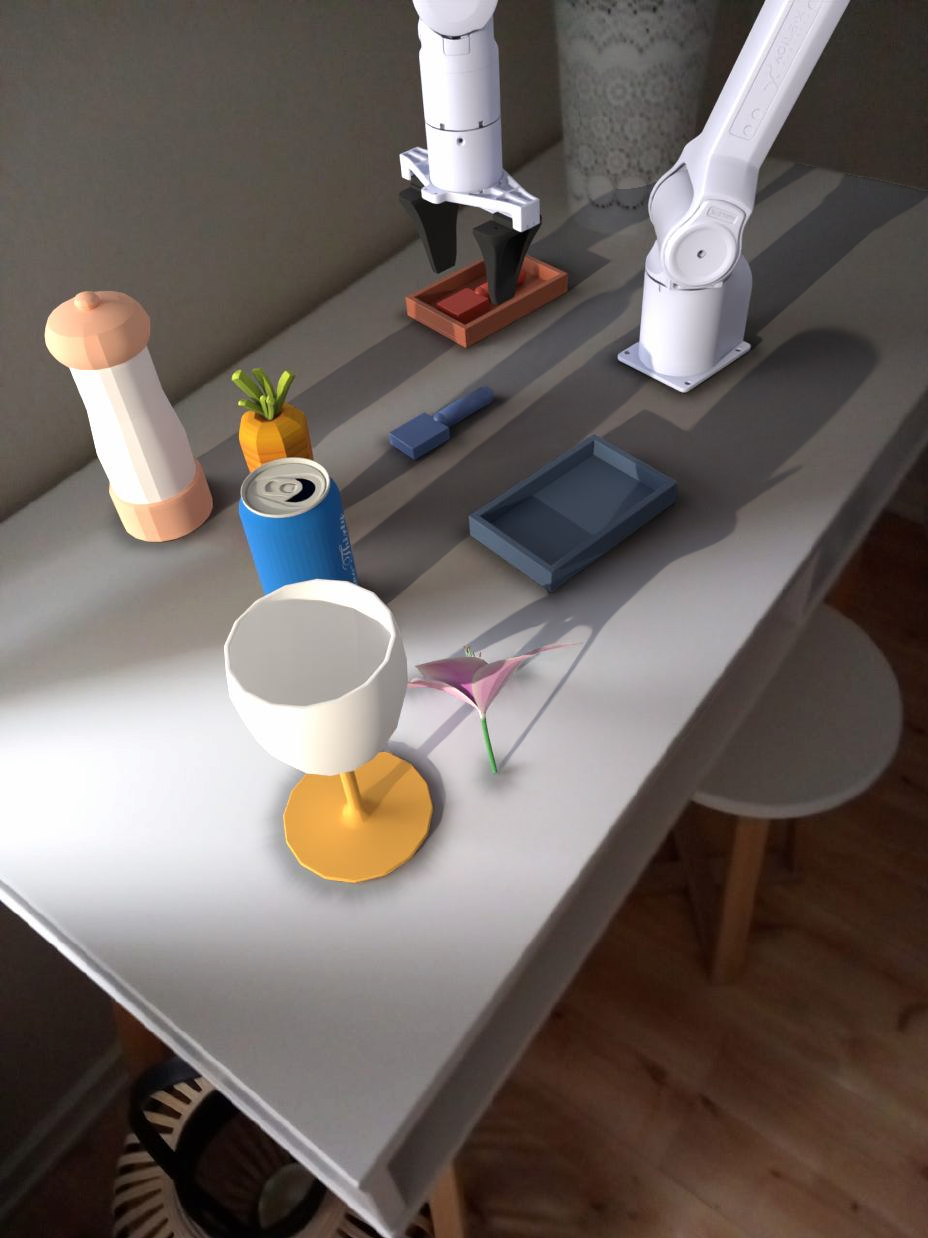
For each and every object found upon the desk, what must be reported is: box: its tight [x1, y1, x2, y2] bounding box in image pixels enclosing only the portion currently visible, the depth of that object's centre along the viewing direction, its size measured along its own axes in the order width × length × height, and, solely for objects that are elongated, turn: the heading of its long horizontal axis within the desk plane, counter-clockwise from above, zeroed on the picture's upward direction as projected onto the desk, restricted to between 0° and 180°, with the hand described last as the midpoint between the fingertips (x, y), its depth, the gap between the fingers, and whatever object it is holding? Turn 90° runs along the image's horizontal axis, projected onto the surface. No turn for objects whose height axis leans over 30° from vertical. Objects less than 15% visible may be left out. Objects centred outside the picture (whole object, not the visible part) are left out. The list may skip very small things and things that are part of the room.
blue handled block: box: [388, 385, 495, 461], centre depth 83 cm, size 10×3×2 cm, turn 132°
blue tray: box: [468, 433, 679, 593], centre depth 74 cm, size 14×9×2 cm, turn 132°
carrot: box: [231, 367, 315, 474], centre depth 70 cm, size 5×5×15 cm
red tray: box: [405, 253, 569, 349], centre depth 96 cm, size 14×9×2 cm, turn 132°
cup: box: [223, 579, 434, 884], centre depth 53 cm, size 9×9×16 cm
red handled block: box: [437, 267, 526, 324], centre depth 96 cm, size 10×3×2 cm, turn 132°
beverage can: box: [238, 458, 360, 596], centre depth 65 cm, size 6×6×12 cm
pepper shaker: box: [44, 290, 214, 543], centre depth 71 cm, size 7×7×19 cm
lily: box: [407, 641, 583, 774], centre depth 60 cm, size 12×12×10 cm
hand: (472, 283), depth 83 cm, fingers open, 7 cm apart
